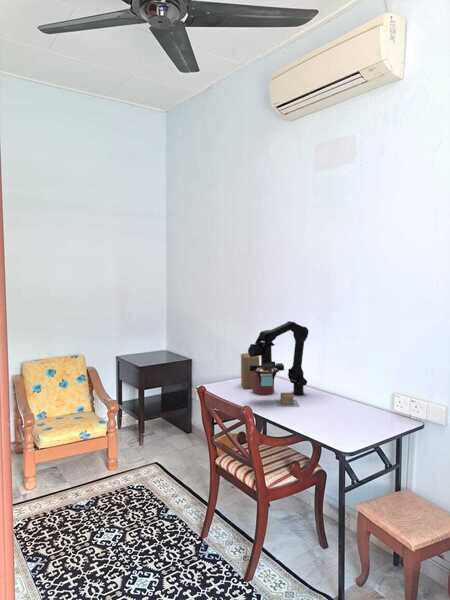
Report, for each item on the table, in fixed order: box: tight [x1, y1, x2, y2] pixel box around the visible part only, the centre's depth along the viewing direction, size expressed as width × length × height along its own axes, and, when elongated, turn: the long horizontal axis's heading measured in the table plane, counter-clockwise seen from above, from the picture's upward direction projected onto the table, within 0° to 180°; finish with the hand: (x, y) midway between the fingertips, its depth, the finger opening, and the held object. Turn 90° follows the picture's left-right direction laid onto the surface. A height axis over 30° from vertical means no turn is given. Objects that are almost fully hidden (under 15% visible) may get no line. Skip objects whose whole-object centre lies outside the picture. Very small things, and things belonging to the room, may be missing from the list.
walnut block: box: [280, 391, 294, 405], centre depth 236 cm, size 6×6×5 cm
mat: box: [274, 399, 301, 408], centre depth 236 cm, size 12×12×1 cm
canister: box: [251, 369, 275, 396], centre depth 257 cm, size 13×13×18 cm
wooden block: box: [240, 352, 260, 390], centre depth 269 cm, size 10×10×20 cm
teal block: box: [261, 374, 273, 386], centre depth 240 cm, size 6×6×5 cm
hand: (266, 382), depth 240 cm, fingers closed on teal block, 6 cm apart
